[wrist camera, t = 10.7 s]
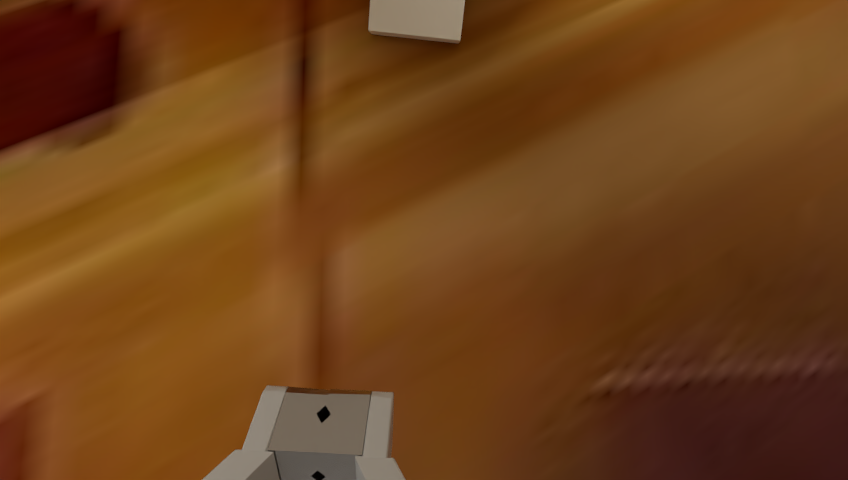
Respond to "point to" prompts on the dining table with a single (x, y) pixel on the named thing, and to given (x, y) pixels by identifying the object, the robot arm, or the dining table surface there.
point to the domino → (417, 19)
